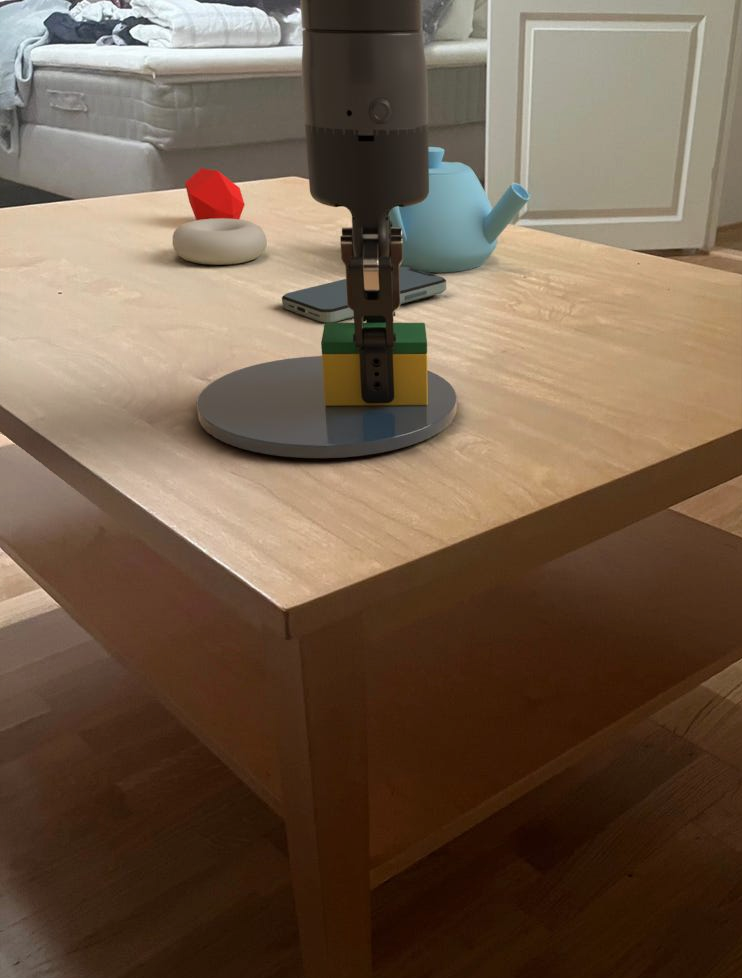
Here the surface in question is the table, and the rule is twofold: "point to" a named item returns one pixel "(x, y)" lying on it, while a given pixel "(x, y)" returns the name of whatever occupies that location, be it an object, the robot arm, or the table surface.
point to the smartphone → (332, 297)
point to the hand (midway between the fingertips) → (378, 387)
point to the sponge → (345, 365)
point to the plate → (313, 413)
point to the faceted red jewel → (214, 196)
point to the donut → (219, 241)
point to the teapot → (454, 219)
